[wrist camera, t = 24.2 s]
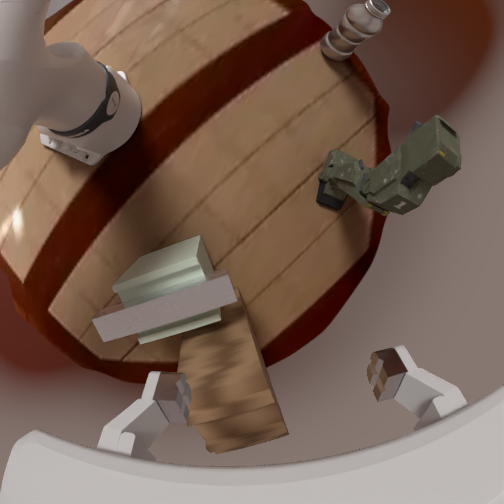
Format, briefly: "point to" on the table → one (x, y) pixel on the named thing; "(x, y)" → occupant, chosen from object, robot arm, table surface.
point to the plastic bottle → (354, 29)
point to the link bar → (166, 305)
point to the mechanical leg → (394, 171)
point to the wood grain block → (229, 383)
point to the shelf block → (167, 282)
